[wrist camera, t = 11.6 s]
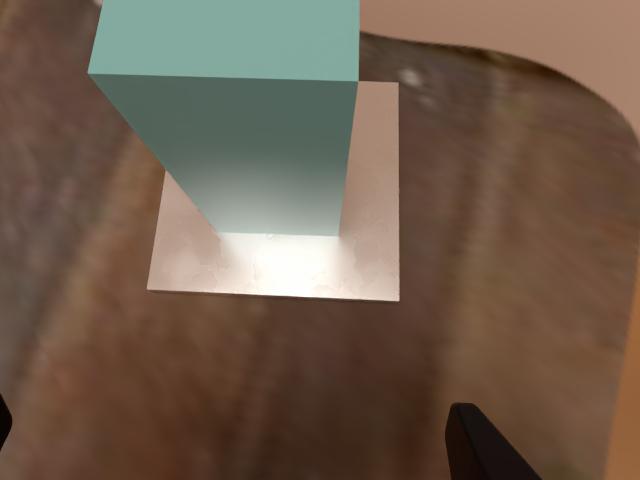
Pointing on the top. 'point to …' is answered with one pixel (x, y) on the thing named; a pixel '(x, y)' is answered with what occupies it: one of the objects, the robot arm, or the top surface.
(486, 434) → the robot arm
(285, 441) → the top surface
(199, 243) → the plate
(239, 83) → the tall mint green block
